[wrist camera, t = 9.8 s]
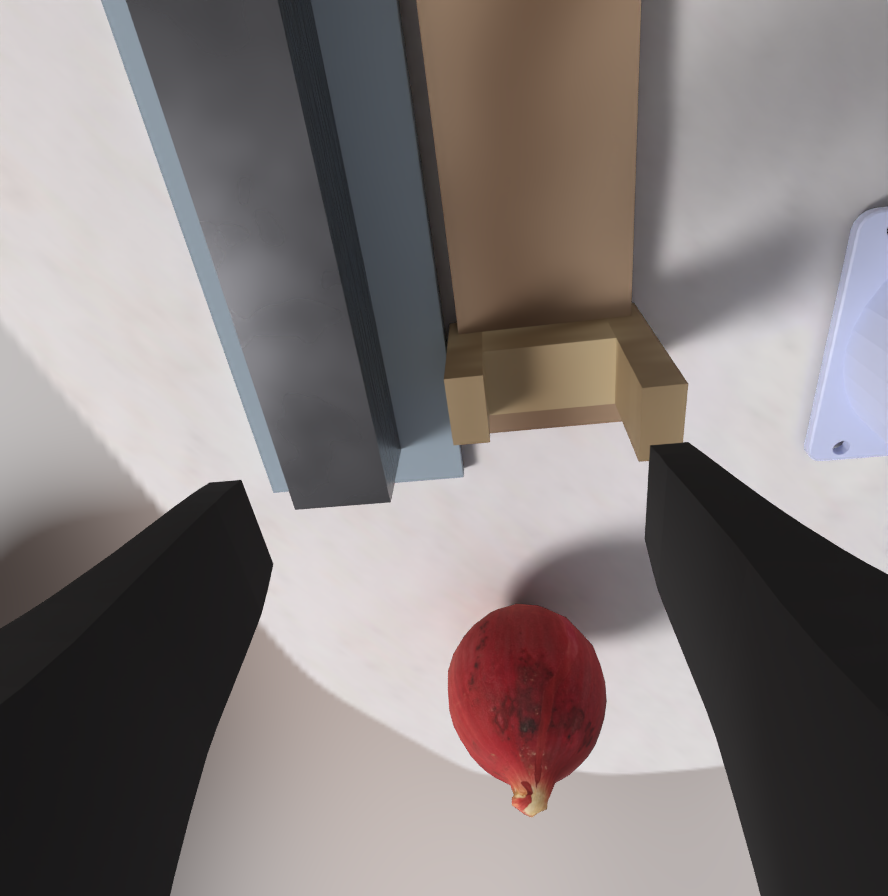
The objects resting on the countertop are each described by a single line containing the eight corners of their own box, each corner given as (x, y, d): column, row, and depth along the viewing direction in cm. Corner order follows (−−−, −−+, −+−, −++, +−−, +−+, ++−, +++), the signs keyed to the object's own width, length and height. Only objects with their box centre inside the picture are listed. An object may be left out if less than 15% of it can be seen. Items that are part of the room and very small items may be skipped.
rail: (238, -358, 11) (168, -483, 9) (401, 449, 21) (390, 502, 18) (90, -321, 12) (-18, -432, 9) (317, 456, 21) (294, 509, 18)
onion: (452, 557, 24) (442, 749, 17) (597, 563, 24) (646, 760, 17) (450, 654, 27) (441, 849, 20) (579, 660, 27) (613, 858, 20)
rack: (659, -410, 11) (791, -763, 6) (630, 405, 20) (677, 507, 15) (361, -339, 12) (283, -612, 7) (462, 420, 21) (458, 523, 16)
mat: (326, -509, 11) (320, -534, 10) (463, 469, 22) (463, 476, 21) (-30, -413, 11) (-50, -431, 11) (277, 484, 22) (273, 492, 22)
